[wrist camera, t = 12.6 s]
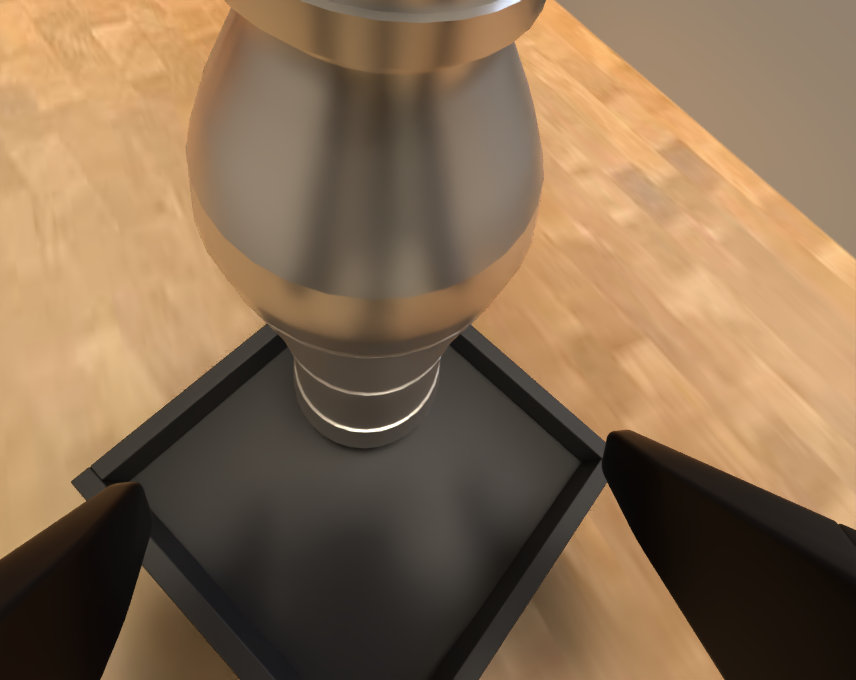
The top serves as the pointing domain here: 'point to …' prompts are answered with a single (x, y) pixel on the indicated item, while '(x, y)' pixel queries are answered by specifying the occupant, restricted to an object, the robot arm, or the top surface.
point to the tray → (357, 517)
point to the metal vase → (367, 188)
